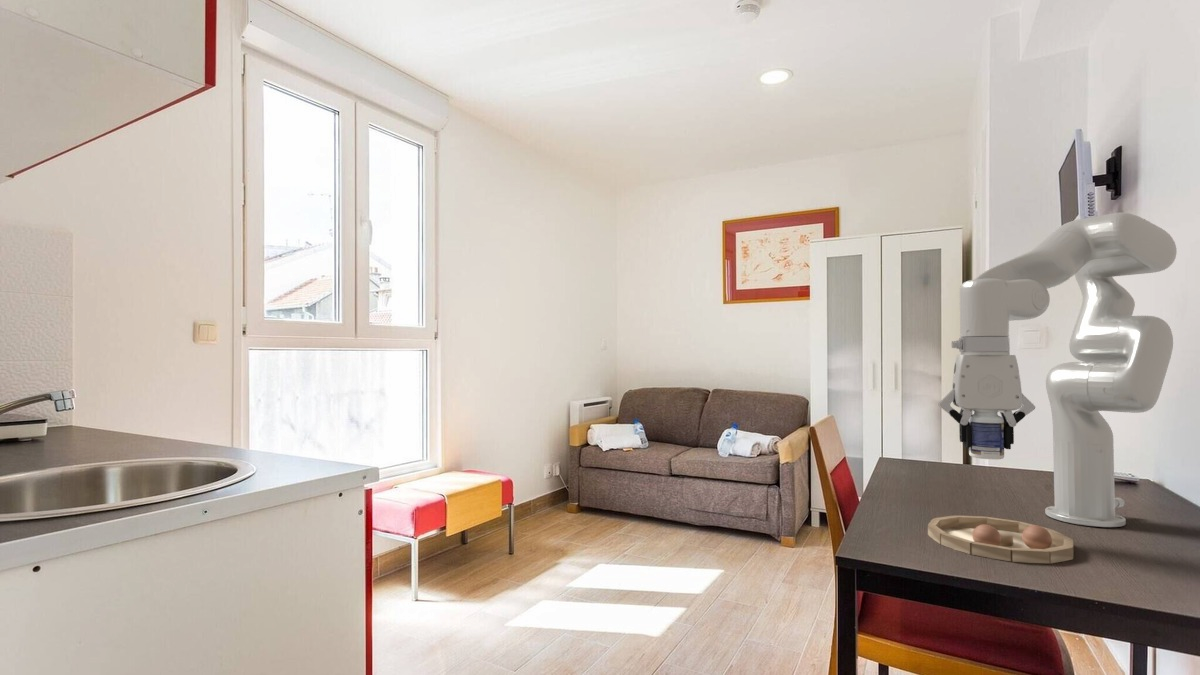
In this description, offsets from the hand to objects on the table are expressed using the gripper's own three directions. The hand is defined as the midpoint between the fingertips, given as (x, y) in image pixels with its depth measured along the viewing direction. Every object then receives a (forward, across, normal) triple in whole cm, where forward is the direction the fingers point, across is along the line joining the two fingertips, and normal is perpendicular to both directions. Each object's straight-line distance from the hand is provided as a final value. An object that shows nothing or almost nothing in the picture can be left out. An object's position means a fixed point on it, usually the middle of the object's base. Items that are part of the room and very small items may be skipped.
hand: (986, 446), depth 109 cm
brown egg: (+16, -3, -10) cm, 19 cm away
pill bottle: (+2, 0, 0) cm, 2 cm away
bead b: (+16, +5, -8) cm, 18 cm away
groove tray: (+17, 0, -6) cm, 17 cm away
